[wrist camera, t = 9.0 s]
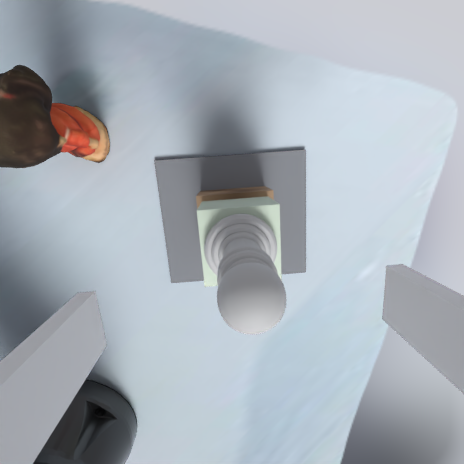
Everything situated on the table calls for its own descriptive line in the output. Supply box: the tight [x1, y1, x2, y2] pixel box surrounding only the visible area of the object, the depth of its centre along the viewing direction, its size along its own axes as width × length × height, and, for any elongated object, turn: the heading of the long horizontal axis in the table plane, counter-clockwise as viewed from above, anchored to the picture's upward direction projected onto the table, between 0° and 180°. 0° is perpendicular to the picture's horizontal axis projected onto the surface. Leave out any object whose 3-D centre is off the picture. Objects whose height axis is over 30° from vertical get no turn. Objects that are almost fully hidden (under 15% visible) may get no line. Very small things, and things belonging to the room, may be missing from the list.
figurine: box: [0, 65, 110, 168], centre depth 21 cm, size 6×6×12 cm
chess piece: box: [204, 214, 286, 335], centre depth 15 cm, size 5×5×9 cm
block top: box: [197, 196, 282, 287], centre depth 22 cm, size 6×6×5 cm
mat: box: [154, 150, 306, 283], centre depth 29 cm, size 16×14×1 cm
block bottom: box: [196, 186, 274, 209], centre depth 27 cm, size 7×7×5 cm
